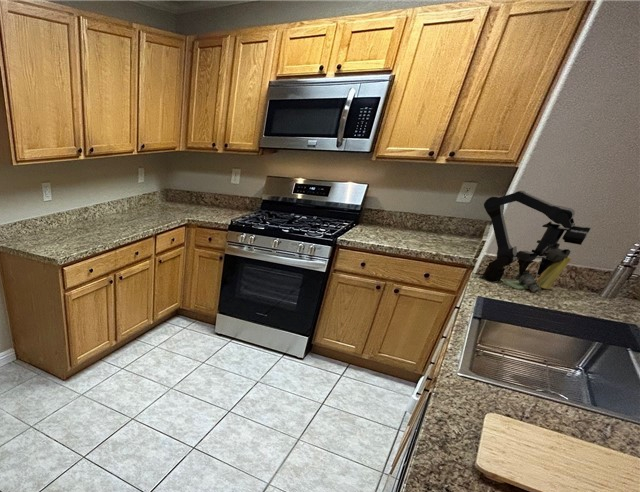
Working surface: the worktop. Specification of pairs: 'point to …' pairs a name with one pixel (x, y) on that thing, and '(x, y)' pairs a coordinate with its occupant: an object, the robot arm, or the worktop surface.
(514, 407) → the worktop surface
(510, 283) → the mat
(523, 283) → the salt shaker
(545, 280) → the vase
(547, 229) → the robot arm
